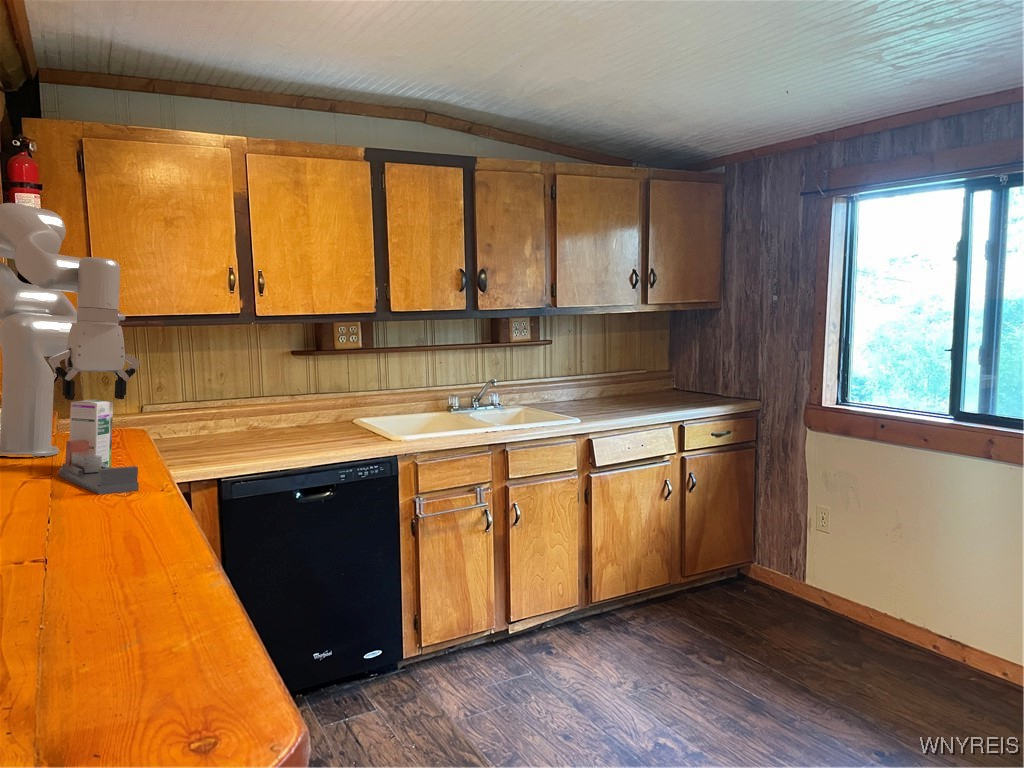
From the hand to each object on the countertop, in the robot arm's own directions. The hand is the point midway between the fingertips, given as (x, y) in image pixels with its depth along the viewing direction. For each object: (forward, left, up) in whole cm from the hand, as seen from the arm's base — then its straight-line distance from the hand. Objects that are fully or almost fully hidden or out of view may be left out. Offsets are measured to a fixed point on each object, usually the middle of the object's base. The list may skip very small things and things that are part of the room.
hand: (94, 399), depth 147 cm
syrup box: (-1, 0, -15) cm, 15 cm away
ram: (+7, -4, -13) cm, 15 cm away
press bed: (+14, -4, -15) cm, 21 cm away
